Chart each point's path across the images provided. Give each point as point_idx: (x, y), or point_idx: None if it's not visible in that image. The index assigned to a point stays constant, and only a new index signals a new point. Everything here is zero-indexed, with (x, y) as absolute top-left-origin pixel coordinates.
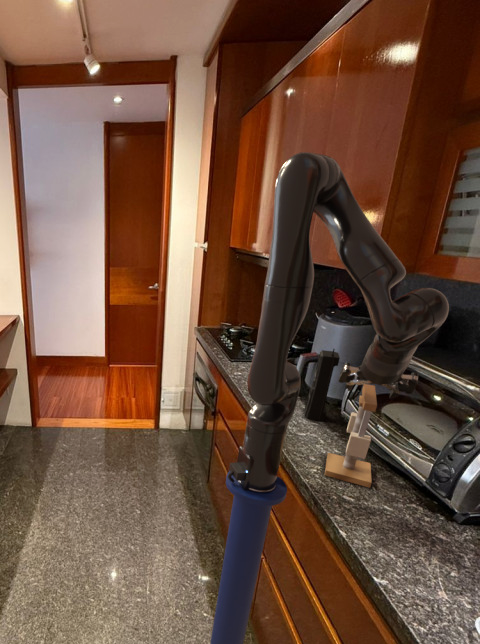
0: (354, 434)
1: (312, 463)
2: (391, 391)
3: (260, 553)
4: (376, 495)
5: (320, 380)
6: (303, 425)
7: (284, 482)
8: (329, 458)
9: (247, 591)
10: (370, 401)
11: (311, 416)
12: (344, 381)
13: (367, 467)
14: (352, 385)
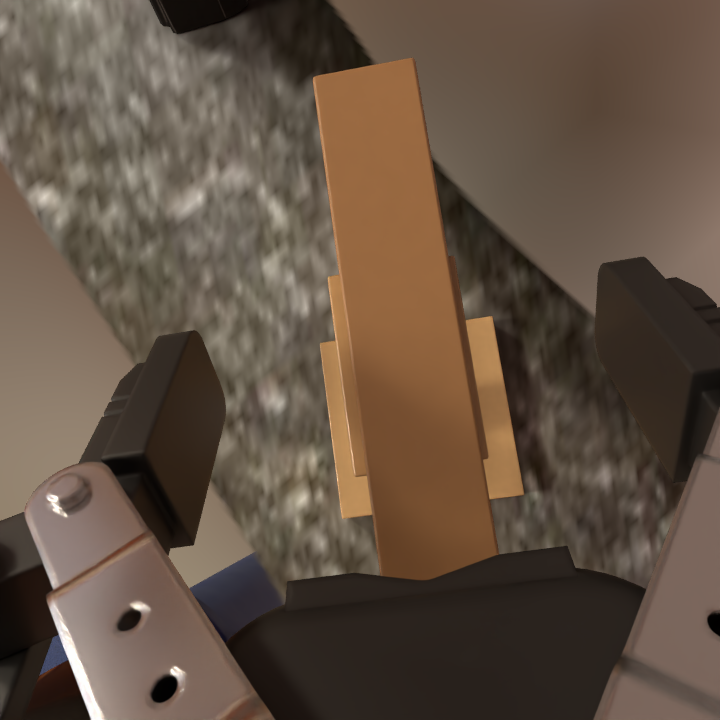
0: None
1: (283, 444)
2: (623, 333)
3: None
4: (551, 536)
5: None
6: (179, 111)
7: (222, 639)
8: (334, 395)
9: None
10: None
11: (188, 17)
12: (42, 664)
13: (487, 365)
14: (184, 542)
